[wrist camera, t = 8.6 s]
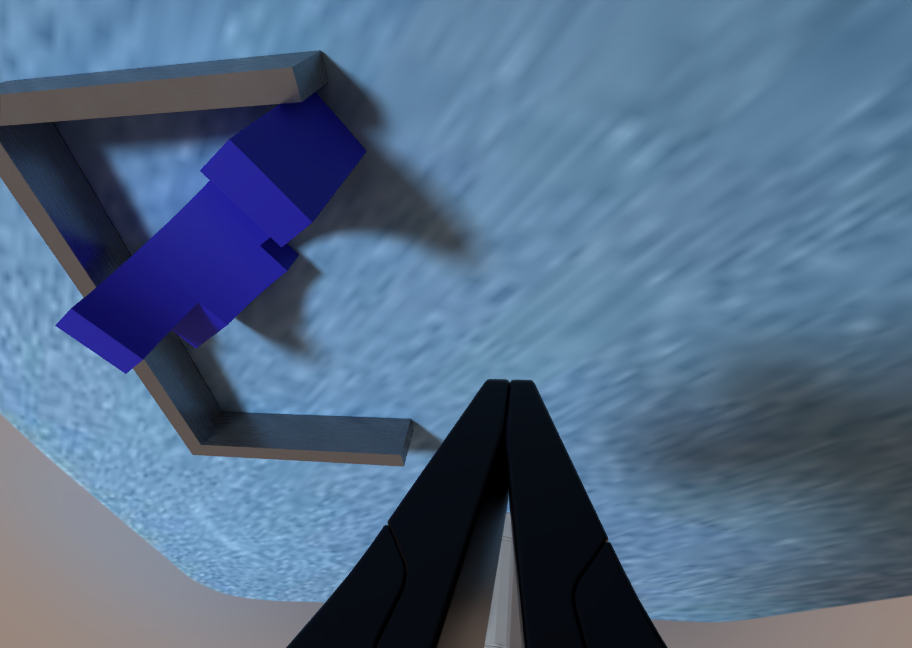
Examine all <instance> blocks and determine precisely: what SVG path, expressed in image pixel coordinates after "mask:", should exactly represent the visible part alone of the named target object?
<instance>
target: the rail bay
mask: <svg viewBox="0 0 912 648" xmlns="http://www.w3.org/2000/svg"><path fill="white" fill-rule="evenodd" d="M326 83H328V79H327V75H326V71H325V67H324V63H323V59H322V55H321V51H310V52H300V53H290V54H280V55H269V56H259V57H249V58H239V59H229V60H218V61H208V62H198V63H188V64H178V65H167V66H157V67H147V68H137V69H127V70H116V71H106V72H96V73H86V74H76V75H65V76H55V77H45V78H35V79H25V80H14V81H5V82H2V83H0V177H1V179H2V180H3V182H4V183H5V184H6V186H7V187H8V189H9V190H10V192H11V193H12V194H13V196H14V197H15V199H16V200H17V202H18V203H19V205H20V206H21V207H22V209H23V210H24V212H25V213H26V215H27V216H28V218H29V219H30V220H31V222H32V223H33V225H34V226H35V228H36V229H37V231H38V232H39V233H40V235H41V236H42V238H43V239H44V241H45V242H46V244H47V245H48V246H49V248H50V249H51V251H52V252H53V254H54V255H55V257H56V258H57V259H58V261H59V262H60V264H61V265H62V267H63V268H64V270H65V271H66V272H67V274H68V275H69V277H70V278H71V280H72V281H73V283H74V284H75V285H76V287H77V288H78V290H79V291H80V293H81V294H82V296H83V297H86V296H87V295H88V294H89V293H90V292H91V291H93V290H94V289H95V288H96V287H97V286H98V285H100V284H101V283H102V282H103V281H104V280H105V279H106V278H108V277H109V276H110V275H111V274H112V273H113V272H114V271H116V270H117V269H118V268H119V267H120V266H121V265H122V264H123V263H125V262H126V261H127V260H128V259H129V258H130V257H131V255H130V253H129V252H128V250H127V248H126V247H125V245H124V243H123V242H122V240H121V238H120V236H119V235H118V233H117V231H116V230H115V228H114V226H113V224H112V223H111V221H110V219H109V218H108V216H107V214H106V212H105V211H104V209H103V207H102V206H101V204H100V202H99V200H98V199H97V197H96V195H95V194H94V192H93V190H92V189H91V187H90V185H89V183H88V182H87V180H86V178H85V177H84V175H83V173H82V171H81V170H80V168H79V166H78V165H77V163H76V161H75V159H74V158H73V156H72V154H71V153H70V151H69V149H68V148H67V146H66V144H65V142H64V141H63V139H62V137H61V136H60V134H59V132H58V130H57V129H56V127H55V125H54V124H53V122H56V121H69V120H81V119H94V118H107V117H119V116H132V115H144V114H157V113H170V112H182V111H195V110H207V109H220V108H233V107H245V106H258V105H270V104H283V103H296V102H302V101H304V100H305V99H306V98H308V97H309V96H310V95H312V94H313V93H314V92H316V91H317V90H318V89H320V88H321V87H322V86H324V85H325V84H326ZM133 369H134V371H135V372H136V373H137V375H138V376H139V378H140V379H141V381H142V382H143V384H144V385H145V386H146V388H147V389H148V391H149V392H150V394H151V395H152V397H153V398H154V399H155V401H156V402H157V404H158V405H159V407H160V408H161V410H162V411H163V412H164V414H165V415H166V417H167V418H168V420H169V421H170V423H171V424H172V425H173V427H174V428H175V430H176V431H177V433H178V434H179V436H180V437H181V438H182V440H183V441H184V443H185V444H186V446H187V447H188V448H189V450H190V451H191V453H192V454H193V455H206V456H225V457H243V458H261V459H279V460H298V461H316V462H334V463H352V464H370V465H389V466H404V465H405V461H406V457H407V453H408V449H409V445H410V441H411V437H412V434H413V427H412V423H411V419H392V418H365V417H339V416H312V415H286V414H259V413H233V412H222V411H221V409H220V407H219V406H218V404H217V402H216V400H215V399H214V397H213V395H212V394H211V392H210V390H209V389H208V387H207V385H206V383H205V382H204V380H203V378H202V377H201V375H200V373H199V371H198V370H197V368H196V366H195V365H194V363H193V361H192V359H191V358H190V356H189V354H188V353H187V351H186V349H185V347H184V346H183V344H182V342H181V341H180V339H179V337H178V336H177V334H176V333H175V332H174V331H172V330H171V331H170V332H169V333H168V334H167V335H166V336H165V337H164V338H163V339H162V340H161V341H160V342H159V343H158V344H157V345H156V346H155V347H154V349H153V350H152V351H151V352H150V353H149V354H148V355H147V356H146V357H145V358H144V359H143V360H142V361H141V362H140V363H139V364H137V365H136V366H135V367H134V368H133Z"/></svg>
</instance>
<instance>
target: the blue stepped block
mask: <svg viewBox="0 0 912 648" xmlns="http://www.w3.org/2000/svg"><path fill="white" fill-rule="evenodd" d="M365 153H366V150H365V149H364V147H363V146H362V145H361V144H360V143H359V142H358V141H357V139H356V138H355V137H354V136H353V135H352V134H351V132H350V131H349V130H348V129H347V128H346V127H345V125H344V124H343V123H342V122H341V121H340V120H339V119H338V117H337V116H336V115H335V114H334V113H333V112H332V110H331V109H330V108H329V107H328V106H327V105H326V103H325V102H324V101H323V100H322V99H321V98H320V96H319V95H318V94H317V93H316V92H314V93H313V94H312V95H310V96H309V97H308V98H306V99H305V100H304V101H302V102H296V103H283V104H279V105H277V106H276V107H274V108H273V109H272V110H270V111H269V112H267V113H266V114H264V115H263V116H262V117H260V118H259V119H257V120H256V121H255V122H253V123H252V124H250V125H249V126H247V127H246V128H245V129H243V130H242V131H240V132H239V133H237V134H236V135H235V136H233V137H232V138H230V139H229V140H228V141H227V142H226V143H225V144H224V145H223V147H222V148H221V149H220V150H219V151H218V152H217V153H216V154H215V155H214V156H213V157H212V158H211V159H210V160H209V162H208V163H207V164H206V165H205V166H204V167H203V168H202V169H201V170H200V171H201V172H202V173H203V174H204V175H205V176H206V177H207V178H208V179H209V180H210V181H209V182H208V183H207V184H206V185H205V186H204V187H203V188H202V189H201V190H200V191H199V192H198V193H197V194H196V195H195V196H194V197H193V198H192V200H191V201H190V202H189V203H188V204H186V205H185V206H184V207H183V208H182V209H181V210H180V211H179V212H178V213H177V214H176V215H175V216H174V217H173V218H172V219H171V220H170V221H169V222H168V223H167V224H166V225H165V226H164V227H163V228H162V229H161V230H159V231H158V232H157V233H156V234H155V235H154V236H153V237H152V238H151V239H150V240H149V241H148V242H147V243H146V244H144V245H143V246H142V247H141V248H140V249H139V250H138V251H137V252H136V253H135V254H133V255H132V256H131V257H130V258H129V259H128V260H127V261H126V262H125V263H123V264H122V265H121V266H120V267H119V268H118V269H117V270H116V271H114V272H113V273H112V274H111V275H110V276H109V277H108V278H106V279H105V280H104V281H103V282H102V283H101V284H100V285H98V286H97V287H96V288H95V289H94V290H93V291H91V292H90V293H89V294H88V295H87V296H86V297H84V298H83V299H82V300H81V301H80V302H78V303H77V304H76V305H75V306H74V307H72V308H71V309H70V310H69V311H68V312H67V313H66V315H65V316H64V317H63V318H62V319H61V320H60V321H59V322H58V323H57V324H56V325H55V326H57V327H58V328H60V329H61V330H62V331H64V332H65V333H67V334H68V335H70V336H71V337H73V338H74V339H76V340H77V341H79V342H80V343H81V344H83V345H84V346H86V347H87V348H89V349H90V350H92V351H93V352H95V353H96V354H98V355H99V356H100V357H102V358H103V359H105V360H106V361H108V362H109V363H111V364H112V365H114V366H115V367H117V368H118V369H119V370H121V371H122V372H124V373H125V374H126V373H127V372H129V371H130V370H131V369H132V368H134V367H135V366H136V365H137V364H139V363H140V362H141V361H142V360H143V359H144V358H145V357H146V356H147V355H148V354H149V353H150V352H151V351H152V350H153V349H154V347H155V346H156V345H157V344H158V343H159V342H160V341H161V340H162V339H163V338H164V337H165V336H166V335H167V334H168V333H169V332H170V331H171V330H172V331H174V332H175V333H176V334H177V335H179V336H180V337H181V338H183V339H184V340H185V341H187V342H188V343H189V344H191V345H192V346H193V347H195V348H197V347H199V346H200V345H201V344H203V343H204V342H205V341H207V340H208V339H209V338H211V337H212V336H213V335H215V334H216V333H217V332H219V331H220V330H221V329H223V328H224V327H225V326H227V325H228V324H229V323H230V322H231V321H232V320H233V319H234V318H235V317H236V316H237V315H238V314H239V313H240V312H241V311H242V310H243V309H244V308H245V307H246V306H247V305H248V304H249V303H250V302H252V301H253V300H254V299H255V298H256V297H257V296H258V295H259V294H260V293H261V292H263V291H264V290H265V289H266V288H267V287H268V286H269V285H271V284H272V283H273V282H274V281H275V280H276V279H278V278H279V277H280V276H281V275H283V274H284V273H285V272H286V271H288V269H289V268H290V266H291V265H292V264H293V262H294V261H295V260H296V258H297V257H298V254H297V253H296V252H295V251H294V250H293V249H292V248H291V247H290V246H289V245H288V244H287V243H288V242H289V241H290V240H291V239H293V238H294V237H295V236H296V235H298V234H299V233H300V232H301V231H302V230H304V229H305V228H306V227H307V226H309V225H310V224H311V223H312V222H313V221H314V220H315V218H316V217H317V216H318V214H319V213H320V212H321V210H322V209H323V208H324V207H325V205H326V204H327V203H328V201H329V200H330V199H331V197H332V196H333V195H334V193H335V192H336V191H337V189H338V188H339V187H340V186H341V184H342V183H343V182H344V180H345V179H346V178H347V176H348V175H349V174H350V172H351V171H352V170H353V168H354V167H355V166H356V165H357V163H358V162H359V161H360V159H361V158H362V157H363V155H364V154H365Z"/></svg>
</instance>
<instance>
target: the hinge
mask: <svg viewBox="0 0 912 648" xmlns="http://www.w3.org/2000/svg"><path fill="white" fill-rule="evenodd" d="M484 648H522V645H521V633H520V621H519V610H518V598H517V587H516V575H515V563H514V552H513V540H512V529H511V517H510V513H506V518H505V524H504V530H503V536H502V542H501V548H500V554H499V560H498V566H497V572H496V578H495V584H494V590H493V597H492V603H491V609H490V615H489V621H488V627H487V633H486V639H485V645H484Z"/></svg>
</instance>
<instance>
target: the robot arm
mask: <svg viewBox="0 0 912 648" xmlns="http://www.w3.org/2000/svg"><path fill="white" fill-rule="evenodd" d="M508 495H509V504H510V517H511V529H512V540H513V552H514V563H515V575H516V587H517V598H518V610H519V621H520V633H521V645H522V648H667V646H666V644H665V643H664V641H663V640H662V638H661V636H660V635H659V633H658V631H657V629H656V628H655V626H654V624H653V623H652V621H651V619H650V617H649V616H648V614H647V612H646V611H645V609H644V607H643V605H642V604H641V602H640V600H639V599H638V597H637V595H636V593H635V591H634V589H633V587H632V585H631V583H630V581H629V579H628V577H627V575H626V573H625V571H624V569H623V567H622V565H621V563H620V561H619V559H618V557H617V555H616V553H615V551H614V549H613V547H612V545H611V543H610V542H608V537H607V535H606V532H605V530H604V528H603V526H602V524H601V522H600V520H599V518H598V516H597V514H596V511H595V509H594V507H593V505H592V503H591V501H590V499H589V497H588V495H587V492H586V490H585V488H584V486H583V484H582V482H581V480H580V478H579V476H578V474H577V471H576V469H575V467H574V465H573V463H572V461H571V459H570V457H569V455H568V453H567V450H566V448H565V446H564V444H563V442H562V440H561V438H560V436H559V434H558V431H557V429H556V427H555V425H554V423H553V421H552V419H551V417H550V415H549V413H548V410H547V408H546V406H545V404H544V402H543V400H542V398H541V396H540V394H539V392H538V389H537V387H536V385H535V383H534V382H533V381H532V380H512V381H511V382H509V381H508V380H506V379H489V380H487V381H486V382H485V383H484V384H483V386H482V387H481V388H480V390H479V391H478V393H477V394H476V396H475V397H474V399H473V400H472V401H471V403H470V404H469V406H468V407H467V409H466V410H465V411H464V413H463V414H462V416H461V417H460V419H459V420H458V421H457V423H456V424H455V426H454V427H453V429H452V430H451V431H450V433H449V434H448V436H447V437H446V439H445V440H444V441H443V443H442V444H441V446H440V447H439V449H438V450H437V451H436V453H435V454H434V456H433V457H432V459H431V460H430V461H429V463H428V464H427V466H426V467H425V469H424V470H423V471H422V473H421V474H420V476H419V477H418V479H417V480H416V481H415V483H414V484H413V486H412V487H411V489H410V490H409V492H408V493H407V494H406V496H405V497H404V499H403V500H402V502H401V503H400V504H399V506H398V507H397V509H396V510H395V512H394V513H393V514H392V516H391V517H390V519H389V520H388V525H385V526H384V527H383V528H382V530H381V531H380V533H379V534H378V536H377V537H376V538H375V540H374V541H373V543H372V544H371V546H370V547H369V548H368V550H367V551H366V552H365V554H364V555H363V556H362V558H361V559H360V560H359V562H358V563H357V564H356V566H355V567H354V568H353V570H352V571H351V572H350V574H349V575H348V576H347V577H346V578H345V580H344V581H343V582H342V583H341V584H340V586H339V587H338V588H337V589H336V590H335V592H334V593H333V594H332V595H331V596H330V598H329V599H328V600H327V601H326V602H325V604H324V605H323V606H322V607H321V608H320V609H319V611H318V612H317V613H316V614H315V615H314V616H313V617H312V618H311V620H310V621H309V622H308V623H307V624H306V625H305V627H304V628H303V629H302V630H301V631H300V632H299V634H298V635H297V636H296V637H295V638H294V639H293V640H292V642H291V643H290V644H289V645H288V646H287V647H286V648H484V645H485V639H486V633H487V627H488V621H489V615H490V609H491V603H492V597H493V590H494V584H495V578H496V572H497V566H498V560H499V554H500V548H501V542H502V536H503V530H504V524H505V518H506V512H507V504H508Z"/></svg>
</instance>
